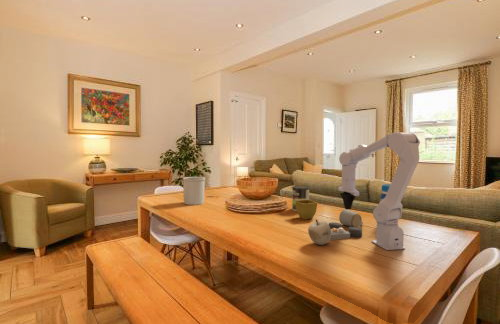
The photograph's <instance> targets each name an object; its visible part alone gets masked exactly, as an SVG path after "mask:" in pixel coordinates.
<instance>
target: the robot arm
mask: <svg viewBox="0 0 500 324" xmlns="http://www.w3.org/2000/svg"><path fill="white" fill-rule="evenodd" d="M420 143H421V141H420V139H419V138H418V136H417V135H416V134H415V133H414V132H400V131H394V132H392V133H389V134H386V135H385V136H383V137H381V138H380V139H378V140H376V141H374V142H372V143H371V144H368V145H366V144H359V145H357V147H355V148H354V149H353V148H352V149H349V151H348V152H346V151H343V152H342V153H341V154H340V155H339V157H338V159H339V163H340V164H341V186H338V188H337V189H338V191H339V192H340V194H339V195H340V197H341V198H342V201H343V206H344V209H347V210H352V207H353V203H354V202H355V199H356V197H360V191H359V190H357V189H356V170H357V169H356V168H357V165H358V163H359V162H361V161H364V160H366V159H368V158H370V157H371V154H373V153H375V152H378V151H380V150H383V149H386V148H390V149H391V150H392V151H393V152H394V153H395V154H396V155H397V156H398V157H399V160H400V161H399V163H398V165H397V167H396V170H395V173H394V175H393V177H392V180H391V182H390V184H391V185H390V187H389V189H388V192H387V194H386V197H385V198H384V199H383V200H382V201H379V203H378V204H377V206H376V207H375V208H373V211H372V216H373V218H374V220H375V221H376V222H375V223H376V239H374V240H371V243H373V244H375V245H377V246H378V247H380V248H382V249H384V250H386V251H391V250H392V251H393V250H395V251H396V250H405V249H406V247H405V246H404V237H405V236H404V235H405V233H404V229H403V228H401V226H399V219H401V217H402V214H403V212H402V209H403V207H404V205H403V204H402V203H401V202H402V200H403V197H404V196H405V193H406V192H407V189H408V186H409V184H410V182H411V180H412V178H413V175H414V173H415V170H416V168H417V167H418V163H419V161H420V149H419V146H420ZM341 192H342V193H341Z"/></svg>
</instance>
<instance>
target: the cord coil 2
mask: <svg viewBox="0 0 500 324" xmlns="http://www.w3.org/2000/svg"><path fill="white" fill-rule="evenodd" d="M347 232H349V233H350V238H357V239H358V238H362V236H363V229H362V228H360V227H349V226H348V228H347Z"/></svg>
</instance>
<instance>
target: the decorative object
mask: <svg viewBox="0 0 500 324" xmlns="http://www.w3.org/2000/svg"><path fill="white" fill-rule="evenodd" d="M307 231H308V236H309V238H310V239H311V241H312V243H314V244H315V245H318V246H319V245H320V246H324V245H326V244H328V243H330V241H331V240H330V238H331V228H330V226H329V222H328V223H327V222H325V221H318V219H315V222H313V223H311V224H310V225H309V226H308V230H307Z"/></svg>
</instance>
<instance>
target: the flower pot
mask: <svg viewBox="0 0 500 324" xmlns="http://www.w3.org/2000/svg"><path fill="white" fill-rule="evenodd" d="M295 202H296V210H297V211H296V212H297V215H298V217H299V218H301V219H303V220H308V219H311V220H312V219H313V218H314V217H315V215H316V212H317V208H318V202H316V201H314V200H311V199H309V200H298V201H295Z"/></svg>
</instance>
